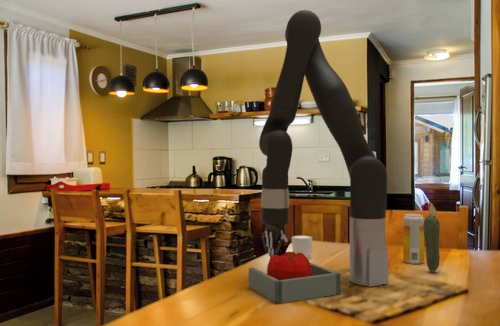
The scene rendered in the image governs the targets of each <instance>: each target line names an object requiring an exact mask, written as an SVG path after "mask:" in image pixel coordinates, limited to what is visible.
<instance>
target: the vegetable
mask: <svg viewBox="0 0 500 326" xmlns="http://www.w3.org/2000/svg"><path fill="white" fill-rule="evenodd" d="M436 215H437V210H436V207H435V206H434V204H433V203H431V202H429V203H428V216H426V218H424V224H423V229H424V244H425V257H426V265H427V268H428V271H430V272H431V273H433V272H434V273H435V272H436V271H438V268H439V267H440V261H441V259H440V256H441V255H440V230H441V229H440V228H441V226H440V221H439V219H438V218H437V217H436Z"/></svg>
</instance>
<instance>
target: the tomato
mask: <svg viewBox="0 0 500 326" xmlns="http://www.w3.org/2000/svg"><path fill="white" fill-rule="evenodd" d="M310 263H311V262H310V259H307V257H306V256H305V255H304V254H303V253H297V254H296V253H294V252H293V251H286V252H285V253H283V254H281V255H280V256H278V255H273V256H272V257H271V258H270V257H269V261H268V263H267V268H266V274H267V275H269V276H271V277H274V278H276V279H278V280H286V279H293V278H301V277H308V276H312V269H311V265H310Z"/></svg>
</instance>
